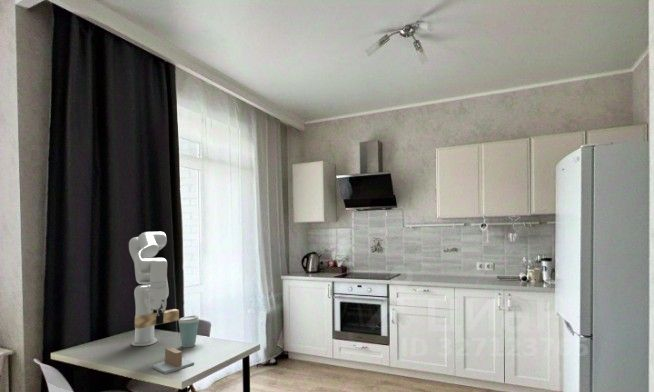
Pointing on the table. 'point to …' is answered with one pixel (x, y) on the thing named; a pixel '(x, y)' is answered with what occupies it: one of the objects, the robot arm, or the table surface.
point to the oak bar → (150, 319)
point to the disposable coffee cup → (188, 330)
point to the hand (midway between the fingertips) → (157, 322)
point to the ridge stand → (172, 361)
